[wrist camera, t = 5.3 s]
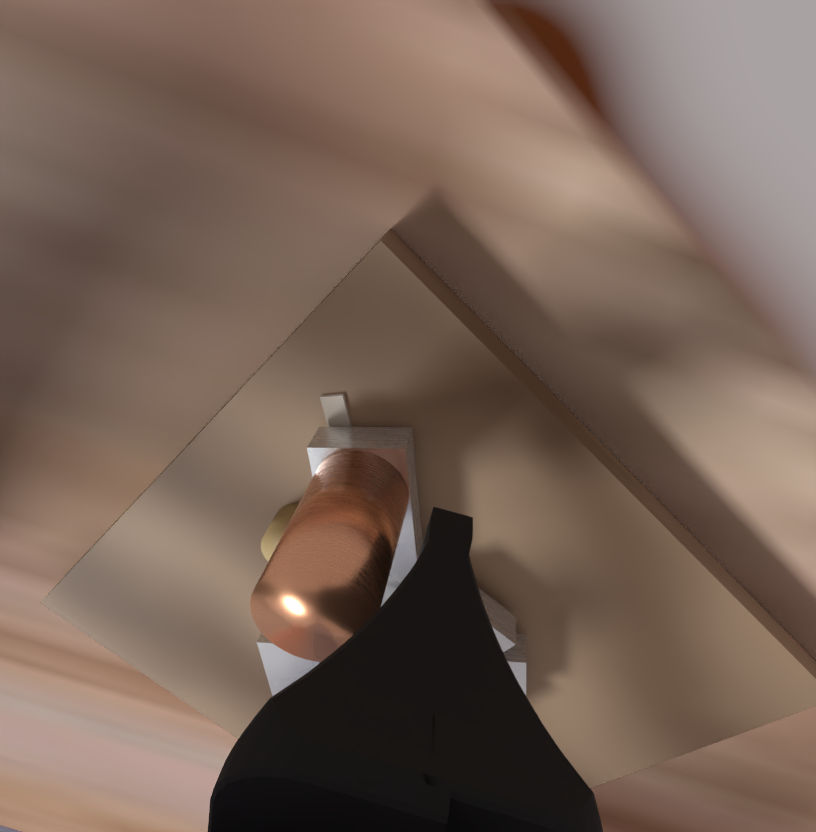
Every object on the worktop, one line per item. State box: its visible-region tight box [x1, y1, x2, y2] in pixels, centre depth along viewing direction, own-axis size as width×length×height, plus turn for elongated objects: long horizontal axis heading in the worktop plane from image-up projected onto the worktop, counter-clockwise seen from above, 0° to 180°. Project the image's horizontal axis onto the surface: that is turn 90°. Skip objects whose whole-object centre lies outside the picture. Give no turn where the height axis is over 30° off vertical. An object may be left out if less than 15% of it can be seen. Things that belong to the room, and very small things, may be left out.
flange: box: [250, 427, 526, 696], centre depth 16 cm, size 12×8×5 cm, turn 5°
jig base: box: [41, 229, 816, 788], centre depth 18 cm, size 18×18×6 cm
